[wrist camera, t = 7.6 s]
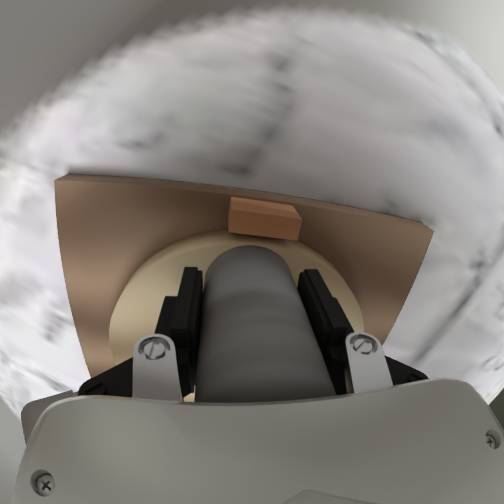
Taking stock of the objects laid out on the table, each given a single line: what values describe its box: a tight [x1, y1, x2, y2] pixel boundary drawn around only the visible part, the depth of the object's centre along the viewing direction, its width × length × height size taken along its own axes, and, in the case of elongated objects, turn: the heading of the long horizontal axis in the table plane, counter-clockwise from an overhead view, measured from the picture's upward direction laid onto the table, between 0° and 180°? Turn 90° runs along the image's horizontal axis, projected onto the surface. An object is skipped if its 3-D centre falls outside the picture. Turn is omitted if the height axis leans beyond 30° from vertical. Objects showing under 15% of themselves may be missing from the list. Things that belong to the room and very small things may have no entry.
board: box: [55, 174, 434, 378], centre depth 17 cm, size 18×22×4 cm
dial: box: [109, 229, 364, 403], centre depth 13 cm, size 15×15×9 cm
